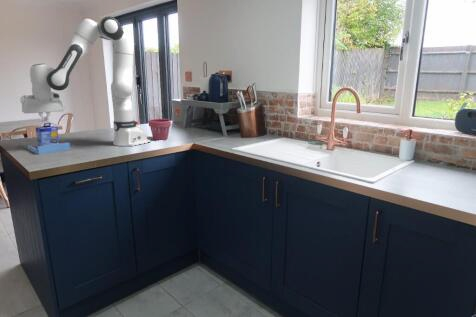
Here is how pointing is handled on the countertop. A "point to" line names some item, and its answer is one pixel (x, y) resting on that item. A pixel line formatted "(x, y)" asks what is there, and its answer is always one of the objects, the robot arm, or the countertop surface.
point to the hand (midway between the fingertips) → (45, 120)
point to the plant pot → (160, 128)
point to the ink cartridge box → (47, 135)
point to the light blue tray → (47, 148)
